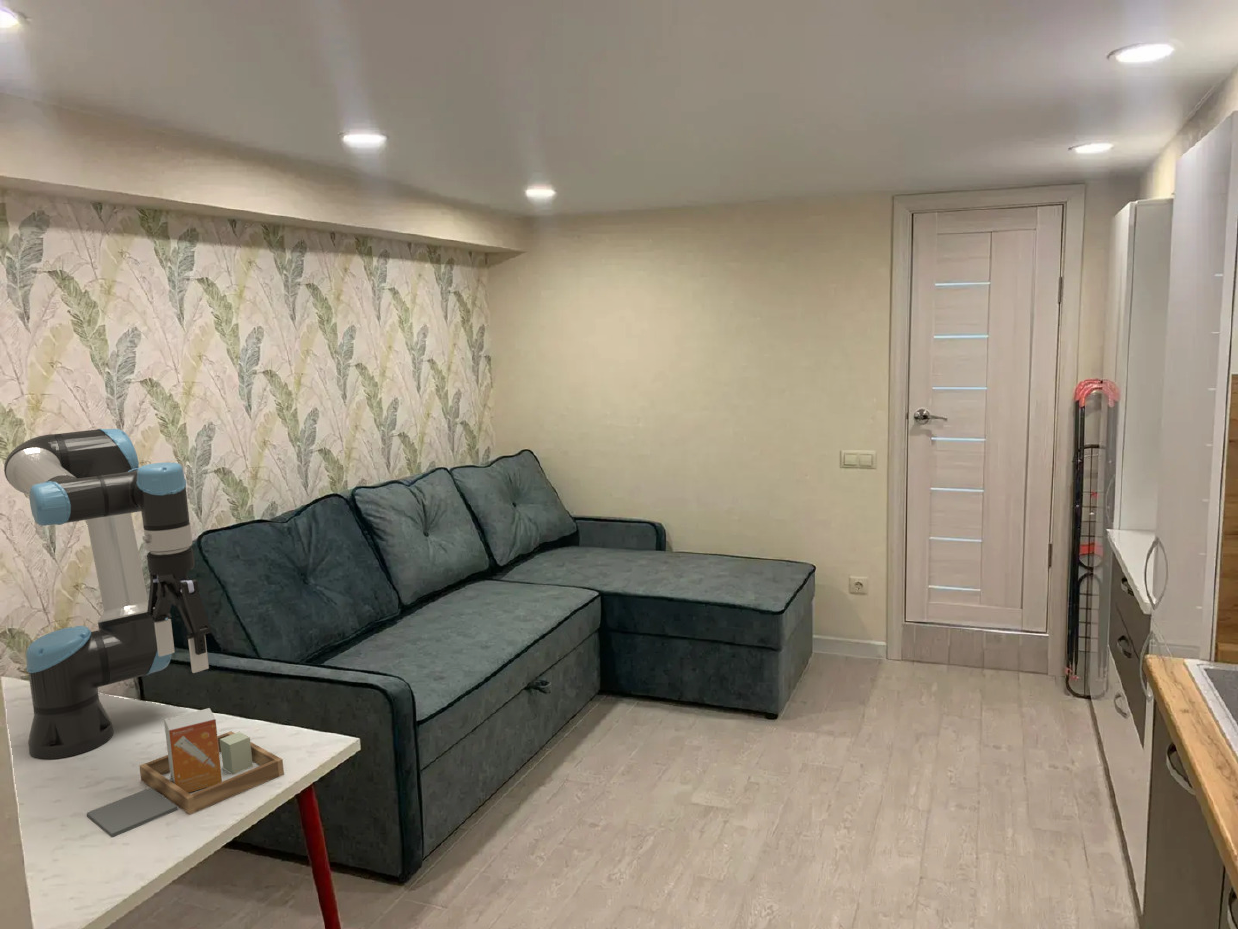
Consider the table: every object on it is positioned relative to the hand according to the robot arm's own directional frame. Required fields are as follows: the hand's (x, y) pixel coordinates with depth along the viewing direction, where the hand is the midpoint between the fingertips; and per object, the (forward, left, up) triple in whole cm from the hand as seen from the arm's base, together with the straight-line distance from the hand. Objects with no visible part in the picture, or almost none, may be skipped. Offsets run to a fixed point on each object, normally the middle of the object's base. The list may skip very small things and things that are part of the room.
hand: (183, 662), depth 169 cm
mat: (+1, -12, -24) cm, 27 cm away
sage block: (0, +8, -24) cm, 25 cm away
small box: (0, 0, -24) cm, 24 cm away
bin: (0, +3, -24) cm, 24 cm away
